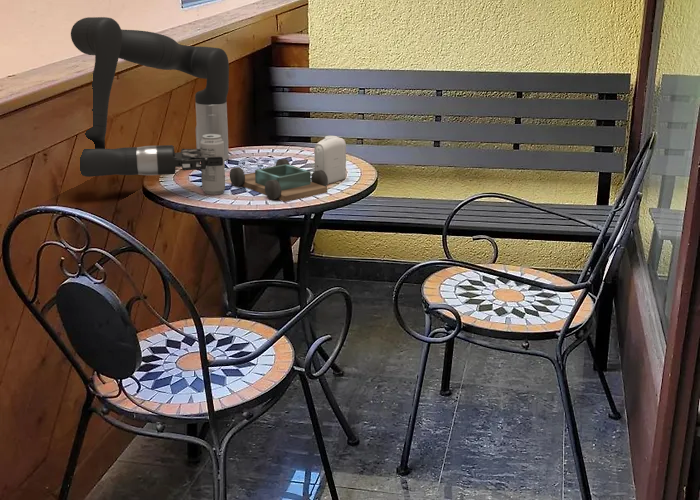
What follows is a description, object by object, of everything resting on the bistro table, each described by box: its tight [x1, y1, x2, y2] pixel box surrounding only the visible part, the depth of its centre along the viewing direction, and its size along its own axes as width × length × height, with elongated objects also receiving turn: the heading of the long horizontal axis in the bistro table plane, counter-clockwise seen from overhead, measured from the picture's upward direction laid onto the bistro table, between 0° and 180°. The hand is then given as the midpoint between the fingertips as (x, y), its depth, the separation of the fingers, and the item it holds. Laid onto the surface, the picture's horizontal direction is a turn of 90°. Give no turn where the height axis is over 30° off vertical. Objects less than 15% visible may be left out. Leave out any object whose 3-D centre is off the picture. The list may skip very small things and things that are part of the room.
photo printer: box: [313, 136, 347, 185], centre depth 223 cm, size 10×4×12 cm, turn 140°
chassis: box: [229, 158, 328, 203], centre depth 218 cm, size 24×17×5 cm
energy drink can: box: [200, 134, 226, 196], centre depth 211 cm, size 6×6×15 cm
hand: (221, 158), depth 211 cm, fingers closed on energy drink can, 6 cm apart
